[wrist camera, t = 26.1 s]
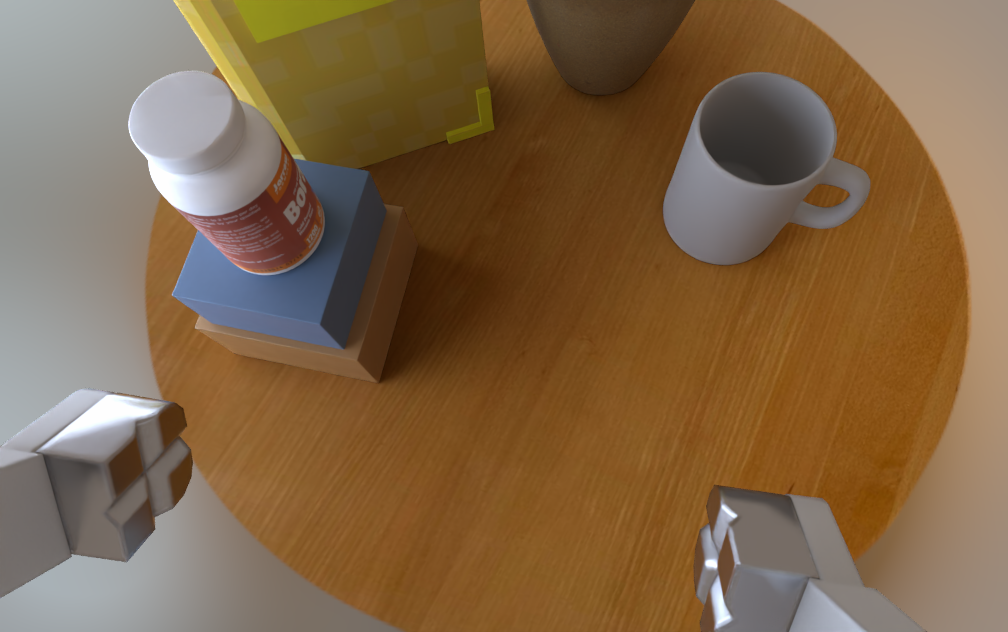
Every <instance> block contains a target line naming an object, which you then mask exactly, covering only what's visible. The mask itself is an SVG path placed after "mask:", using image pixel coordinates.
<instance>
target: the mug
mask: <svg viewBox="0 0 1008 632" xmlns="http://www.w3.org/2000/svg"><path fill="white" fill-rule="evenodd" d="M836 142H837V131H836V125H835V121H834V118H833V116H832V114H831V111H830V110H829V108H828V107H827V105H826V103H825V102H824V101H823V100H822V99H821V97H820V96H819V95H817V94H816V93H815V92H814V91H813V90H812V89H810V88H809V87H808V86H806V85H804V84H803V83H801V82H799V81H797V80H795V79H793V78H790V77H787V76H784V75H780V74H776V73H769V72H751V73H744V74H740V75H736V76H733V77H730V78H728V79H726V80H724V81H722V82H721V83H719V84H718V85H716V86H715V87H714V88H713V89H712V90H710V91H709V93H708V94H707V95H706V96H705V97H704V99H703V100H702V102H701V103H700V105H699V107H698V109H697V112H696V114H695V116H694V119H693V122H692V125H691V127H690V130H689V133H688V136H687V138H686V141H685V144H684V147H683V149H682V152H681V155H680V158H679V161H678V163H677V166H676V169H675V171H674V174H673V177H672V179H671V182H670V184H669V186H668V189H667V191H666V195H665V198H664V203H663V217H664V222H665V225H666V228H667V230H668V232H669V235H670V236H671V238H672V239H673V241H674V242H675V243H676V244H677V245H678V246H679V247H680V248H681V249H682V250H683V251H684V252H686V253H687V254H689V255H690V256H692V257H694V258H696V259H698V260H701V261H703V262H707V263H710V264H717V265H732V264H738V263H742V262H745V261H748V260H750V259H752V258H754V257H756V256H757V255H759V254H760V253H761V252H763V251H764V250H765V249H766V248H767V247H768V246H769V245H770V243H771V242H772V241H773V240H774V238H775V237H776V236H777V234H778V233H779V232H780V230H781V229H782V228H783V227H784V226H785V225H786V224H787V223H788V222H790V223H795V224H799V225H802V226H807V227H812V228H818V229H828V228H833V227H836V226H839V225H841V224H843V223H845V222H846V221H848V220H849V219H850V218H852V217H853V216H854V215H855V214H856V213H857V212H858V211H859V209H860V208H861V207H862V206H863V204H864V203H865V201H866V199H867V197H868V194H869V191H870V179H869V177H868V175H867V173H866V172H865V171H864V170H862V169H860V168H859V167H857V166H854V165H852V164H849V163H847V162H844V161H841V160H838V159H836V158H833V154H834V152H835V148H836ZM817 184H826V185H832V186H836V187H839V188H842V189H844V190H846V191H848V192H849V193H850V195H849V197H848V198H847V199H846V200H845V201H843V202H842V203H840V204H838V205H836V206H833V207H818V206H814V205H811V204H808V203H806V202H804V201H802V200H803V199H804V198H805V197H806V196H807V194H808V193H809V192H810V191H811V190H812V189H813V188H814V187H815V186H816V185H817Z"/></svg>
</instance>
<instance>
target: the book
mask: <svg viewBox="0 0 1008 632" xmlns="http://www.w3.org/2000/svg"><path fill="white" fill-rule="evenodd" d="M173 1H174V2H175V4H176V5H177V7H178V8H179V10H180V11H181V13H182V14H183V16H184V17H185V19H186V20H187V22H188V23H189V25H190V26H191V28H192V29H193V31H194V32H195V34H196V35H197V37H198V38H199V40H200V41H201V43H202V44H203V46H204V47H205V49H206V50H207V52H208V53H209V55H210V56H211V58H212V59H213V61H214V62H215V64H216V65H217V67H218V68H219V70H220V71H221V73H222V75H223V76H224V78H225V79H226V81H227V82H228V84H229V85H230V87H231V88H232V90H233V91H234V93H235V94H236V96H237V97H238V99H239V100H241V101H243V102H245V103H248V104H250V105H252V106H253V107H255V108H256V109H258V110H259V111H260V112H261V113H262V114H263V115H264V116H265V117H266V118H267V119H268V120H269V121H270V123H271V124H272V125H273V127H274V128H275V130H276V131H277V133H278V134H279V136H280V138H281V139H282V141H283V142H284V144H285V146H286V147H287V149H288V150H289V152H290V154H291V155H292V157H293V158H294V159H300V160H306V161H311V162H317V163H323V164H329V165H335V166H341V167H347V168H353V169H359V168H362V167H365V166H368V165H371V164H374V163H377V162H381V161H384V160H387V159H390V158H393V157H396V156H399V155H402V154H405V153H408V152H411V151H414V150H417V149H420V148H424V147H427V146H430V145H433V144H436V143H439V142H442V141H445V140H448V143H449V144H452V143H455V142H458V141H461V140H465V139H468V138H471V137H474V136H477V135H480V134H483V133H486V132H489V131H492V130H494V122H493V115H492V105H491V96H490V90H489V87H488V78H487V68H486V59H485V49H484V40H483V31H482V21H481V12H480V2H479V0H173Z"/></svg>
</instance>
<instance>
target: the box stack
mask: <svg viewBox="0 0 1008 632" xmlns="http://www.w3.org/2000/svg"><path fill="white" fill-rule="evenodd" d="M294 160H295V162H296V163H297V165H298V166H299V168H300V170H301V171H302V173H303V174H304V176H305V178H306V179H307V181H308V183H309V184H310V186H311V188H312V189H313V191H314V192H315V194H316V195H317V197H318V199H319V201H320V203H321V205H322V208H323V211H324V217H325V227H324V233H323V236H322V239H321V241H320V243H319V245H318V246H317V248H316V250H315V251H314V252H313V253H312V255H311V256H310V257H309V258H308V259H306V260H305V261H304V262H303V263H302V264H300V265H299V266H297V267H295V268H294V269H291V270H289V271H287V272H284V273H280V274H275V275H258V274H253V273H250V272H247V271H245V270H243V269H241V268H239V267H238V266H236V265H235V264H234V263H232V262H231V261H230V260H229V259H228V258H227V257H226V256H225V255H224V254H223V253H222V252H221V251H220V250H219V249H218V248H217V247H216V246H215V245H213V244H212V243H211V242H210V241H209V240H208V239H207V238H206V237H205V236H204V235H203V234H202V233H201V232H200V231H199V230H198V232H197V234H196V237H195V239H194V242H193V244H192V247H191V249H190V252H189V254H188V257H187V259H186V262H185V264H184V267H183V269H182V272H181V274H180V277H179V279H178V282H177V284H176V287H175V289H174V292H173V294H172V296H174V297H175V298H176V299H178V300H179V301H181V302H182V303H184V304H185V305H186V306H188V307H189V308H191V309H192V310H194V311H195V312H196V313H198V314H199V315H200V316H199V318H198V321H197V324H196V326H195V328H196V329H197V330H199V331H201V332H202V333H204V334H205V335H207V336H208V337H210V338H211V339H213V340H214V341H216V342H217V343H219V344H221V345H222V346H224V347H225V348H227V349H228V350H230V351H231V352H233V353H234V354H238V355H243V356H248V357H253V358H258V359H262V360H267V361H272V362H277V363H282V364H287V365H292V366H296V367H301V368H306V369H311V370H316V371H321V372H326V373H330V374H335V375H340V376H345V377H350V378H355V379H360V380H364V381H369V382H374V383H379V381H380V378H381V374H382V371H383V367H384V364H385V360H386V356H387V353H388V349H389V346H390V342H391V339H392V335H393V332H394V328H395V325H396V321H397V318H398V314H399V311H400V307H401V304H402V300H403V296H404V293H405V289H406V286H407V282H408V279H409V275H410V272H411V268H412V265H413V261H414V258H415V254H416V251H417V247H418V244H417V241H416V239H415V236H414V233H413V231H412V228H411V226H410V223H409V221H408V218H407V216H406V213H405V211H404V208H403V207H401V206H395V205H390V204H384V203H383V201H382V199H381V197H380V194H379V192H378V190H377V188H376V185H375V183H374V181H373V179H372V176H371V174H370V172H369V171H365V170H359V169H353V168H347V167H341V166H335V165H329V164H323V163H317V162H311V161H306V160H300V159H294Z"/></svg>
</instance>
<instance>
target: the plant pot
mask: <svg viewBox="0 0 1008 632" xmlns="http://www.w3.org/2000/svg"><path fill="white" fill-rule="evenodd" d="M694 2H695V0H527V3H528V5H529V8H530V11H531V14H532V16H533V19H534V21H535V24H536V27H537V29H538V31H539V34H540V36H541V38H542V40H543V42H544V45H545V47H546V49H547V51H548V53H549V55H550V57H551V58H552V60H553V62H554V64H555V66H556V68H557V69H558V71H559V73H560V75H561V76H562V77H563V79H564V80H565V81H566V82H567V83H568V84H569V85H571V86H572V87H573V88H575V89H577V90H579V91H581V92H584V93H587V94H592V95H610V94H615V93H618V92H621V91H623V90H625V89H627V88H629V87H630V86H632V85H633V84H634V83H635V82H636V81H637V80H638V79H639V78H640V77H641V76H642V75H643V74H644V72H645V71H646V70H647V69H648V68H649V67H650V65H651V64H652V63H653V62H654V61H655V59H656V58H657V57H658V56H659V54H660V53H661V52H662V50H663V49H664V48H665V46H666V45H667V44H668V42H669V41H670V39H671V38H672V36H673V35H674V33H675V32H676V30H677V29H678V27H679V26H680V24H681V23H682V21H683V20H684V18H685V16H686V15H687V13H688V11H689V10H690V8H691V7H692V5H693V3H694Z"/></svg>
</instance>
